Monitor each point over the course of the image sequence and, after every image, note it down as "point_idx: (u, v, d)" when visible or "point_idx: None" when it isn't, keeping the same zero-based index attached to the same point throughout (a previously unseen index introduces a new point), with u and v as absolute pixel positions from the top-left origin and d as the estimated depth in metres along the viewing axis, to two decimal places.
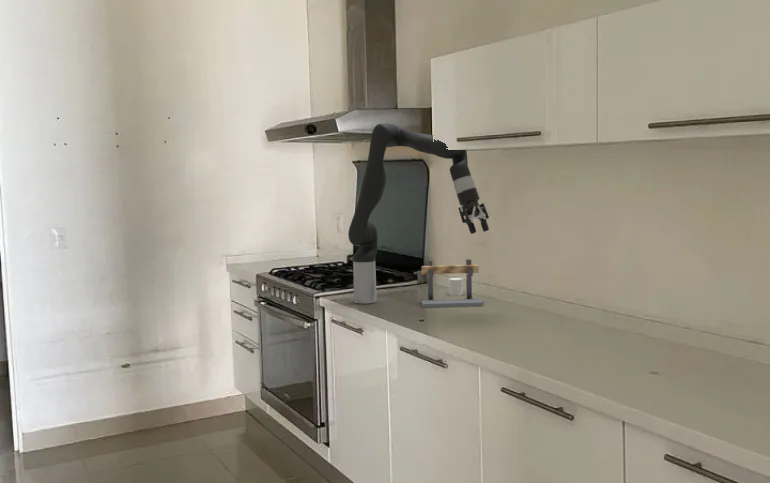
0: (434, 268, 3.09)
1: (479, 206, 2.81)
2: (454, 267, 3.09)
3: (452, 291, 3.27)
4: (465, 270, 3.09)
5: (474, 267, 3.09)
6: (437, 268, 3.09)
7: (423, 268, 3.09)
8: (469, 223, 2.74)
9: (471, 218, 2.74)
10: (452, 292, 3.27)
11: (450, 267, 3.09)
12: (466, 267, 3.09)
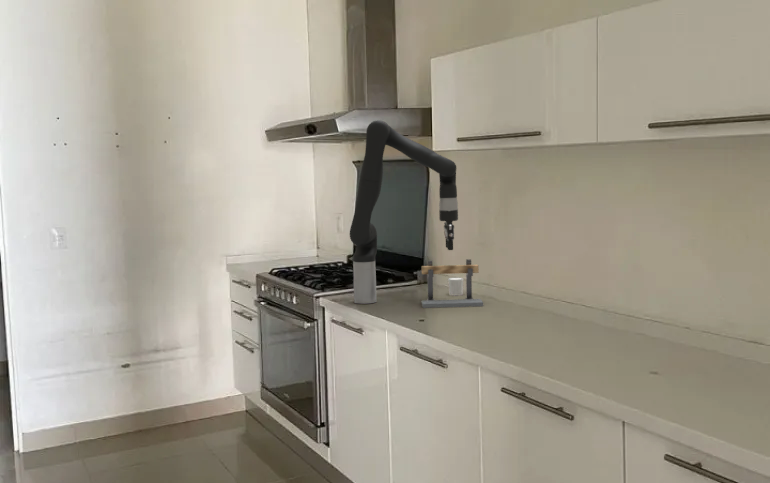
0: (434, 268, 3.09)
1: None
2: (454, 267, 3.09)
3: (452, 291, 3.27)
4: (465, 270, 3.09)
5: (474, 267, 3.09)
6: (437, 268, 3.09)
7: (423, 268, 3.09)
8: (451, 241, 3.04)
9: None
10: (452, 292, 3.27)
11: (450, 267, 3.09)
12: (466, 267, 3.09)
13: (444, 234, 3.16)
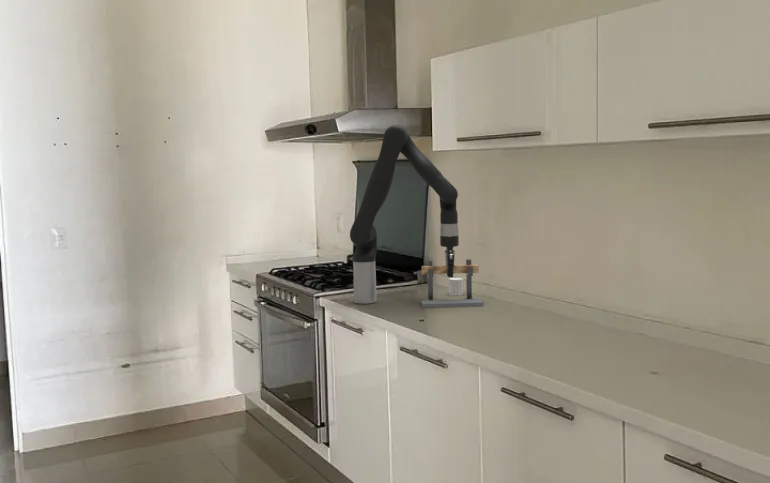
0: (434, 268, 3.09)
1: None
2: (454, 267, 3.09)
3: (452, 291, 3.27)
4: (465, 270, 3.09)
5: (474, 267, 3.09)
6: (437, 268, 3.09)
7: (423, 268, 3.09)
8: (451, 268, 3.08)
9: (453, 264, 3.09)
10: (452, 292, 3.27)
11: None
12: (466, 267, 3.09)
13: None
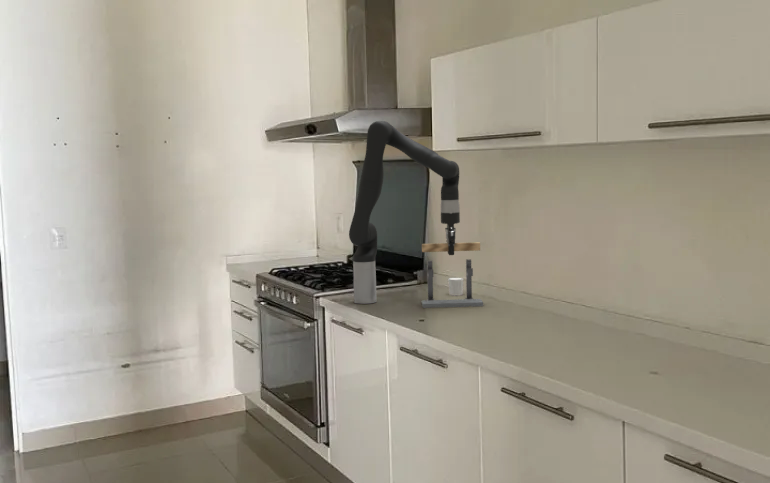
0: (435, 246, 3.01)
1: None
2: (455, 245, 3.01)
3: (452, 291, 3.27)
4: (467, 248, 3.02)
5: (476, 245, 3.01)
6: (438, 246, 3.01)
7: (423, 246, 3.01)
8: (452, 246, 3.00)
9: None
10: (452, 292, 3.27)
11: None
12: (467, 245, 3.01)
13: (446, 240, 3.07)
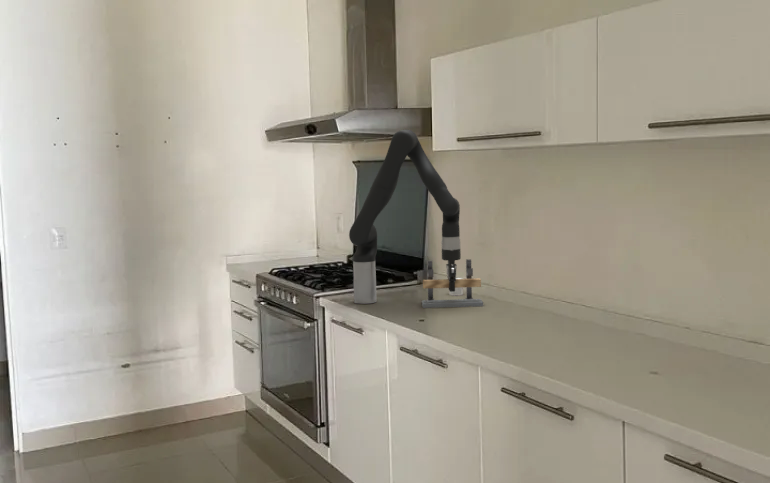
0: (436, 282, 3.03)
1: None
2: (456, 281, 3.03)
3: None
4: (468, 284, 3.03)
5: (476, 281, 3.03)
6: (439, 282, 3.03)
7: (424, 282, 3.03)
8: (452, 282, 3.02)
9: None
10: (452, 292, 3.27)
11: None
12: (468, 281, 3.03)
13: (447, 276, 3.08)
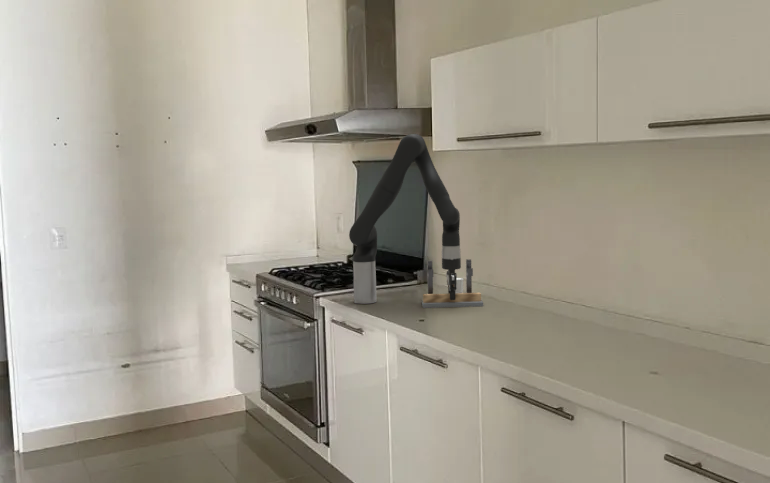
0: (436, 296, 3.04)
1: None
2: (456, 295, 3.04)
3: None
4: (468, 299, 3.04)
5: (476, 295, 3.04)
6: (439, 296, 3.04)
7: (425, 296, 3.04)
8: (453, 291, 3.00)
9: (455, 286, 3.01)
10: None
11: None
12: (468, 295, 3.04)
13: (447, 283, 3.10)
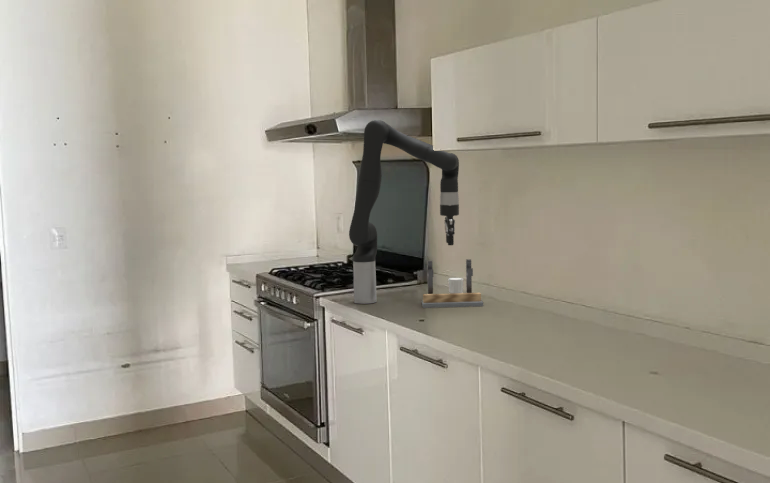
0: (436, 296, 3.04)
1: None
2: (456, 295, 3.04)
3: (452, 291, 3.27)
4: (468, 299, 3.04)
5: (476, 295, 3.04)
6: (439, 296, 3.04)
7: (425, 296, 3.04)
8: (451, 236, 2.98)
9: None
10: (452, 292, 3.27)
11: (452, 295, 3.04)
12: (468, 295, 3.04)
13: (445, 229, 3.10)
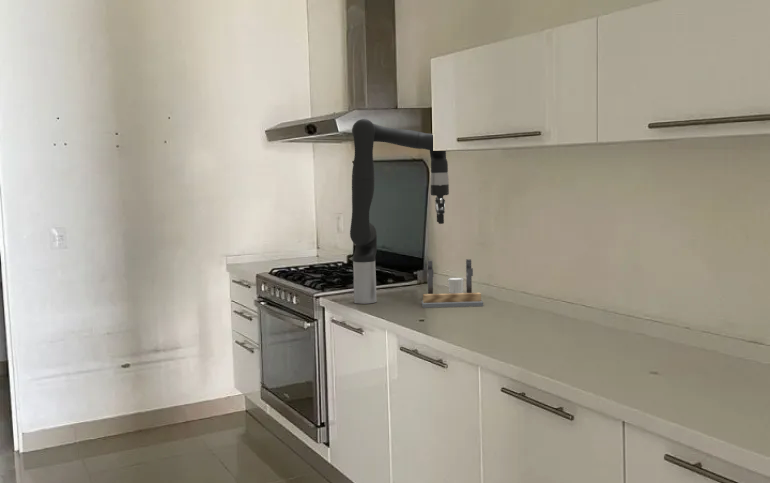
0: (436, 296, 3.04)
1: None
2: (456, 295, 3.04)
3: (452, 291, 3.27)
4: (468, 299, 3.04)
5: (476, 295, 3.04)
6: (439, 296, 3.04)
7: (425, 296, 3.04)
8: (441, 214, 3.10)
9: (443, 210, 3.11)
10: (452, 292, 3.27)
11: (452, 295, 3.04)
12: (468, 295, 3.04)
13: None
